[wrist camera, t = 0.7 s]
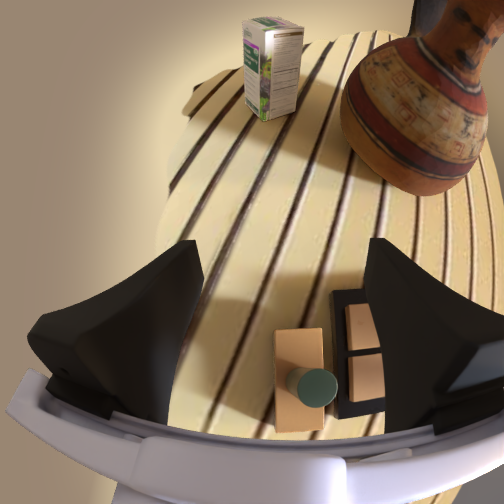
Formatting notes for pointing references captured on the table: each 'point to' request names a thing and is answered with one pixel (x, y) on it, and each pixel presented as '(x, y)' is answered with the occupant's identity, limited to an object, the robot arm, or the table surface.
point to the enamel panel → (341, 355)
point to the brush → (300, 380)
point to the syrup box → (271, 65)
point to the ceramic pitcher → (424, 96)
